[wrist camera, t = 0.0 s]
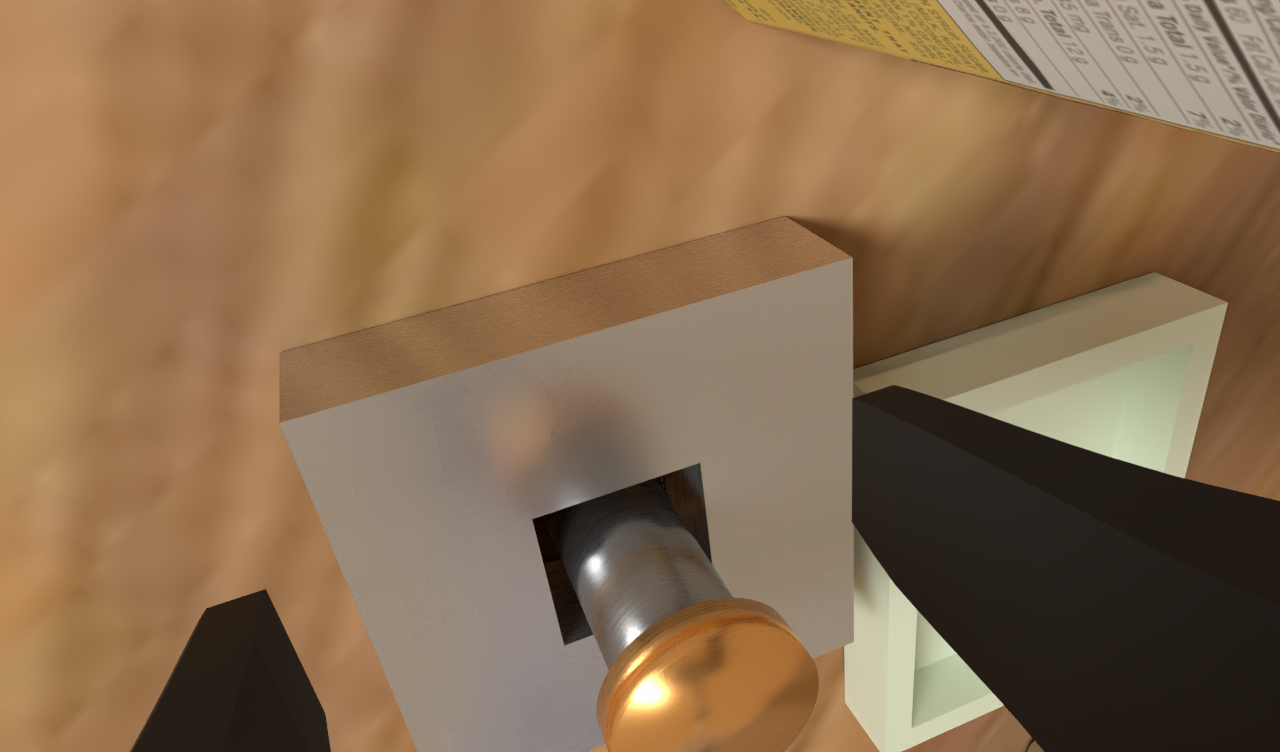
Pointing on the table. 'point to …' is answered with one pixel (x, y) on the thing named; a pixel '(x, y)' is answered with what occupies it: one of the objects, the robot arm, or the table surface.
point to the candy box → (1080, 51)
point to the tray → (1046, 404)
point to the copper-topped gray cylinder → (678, 634)
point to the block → (580, 466)
